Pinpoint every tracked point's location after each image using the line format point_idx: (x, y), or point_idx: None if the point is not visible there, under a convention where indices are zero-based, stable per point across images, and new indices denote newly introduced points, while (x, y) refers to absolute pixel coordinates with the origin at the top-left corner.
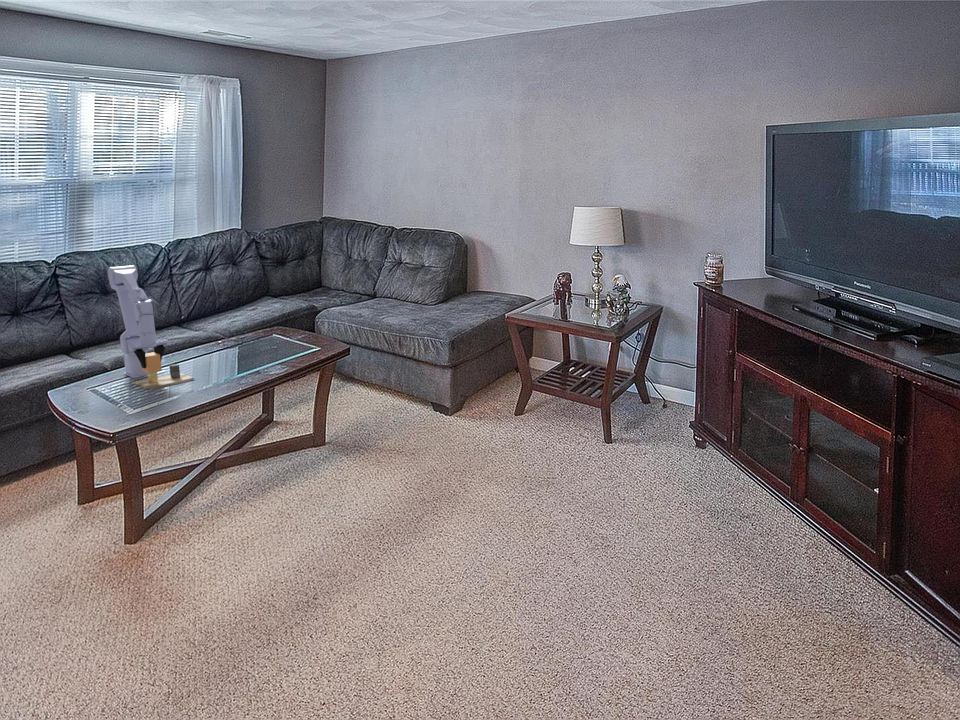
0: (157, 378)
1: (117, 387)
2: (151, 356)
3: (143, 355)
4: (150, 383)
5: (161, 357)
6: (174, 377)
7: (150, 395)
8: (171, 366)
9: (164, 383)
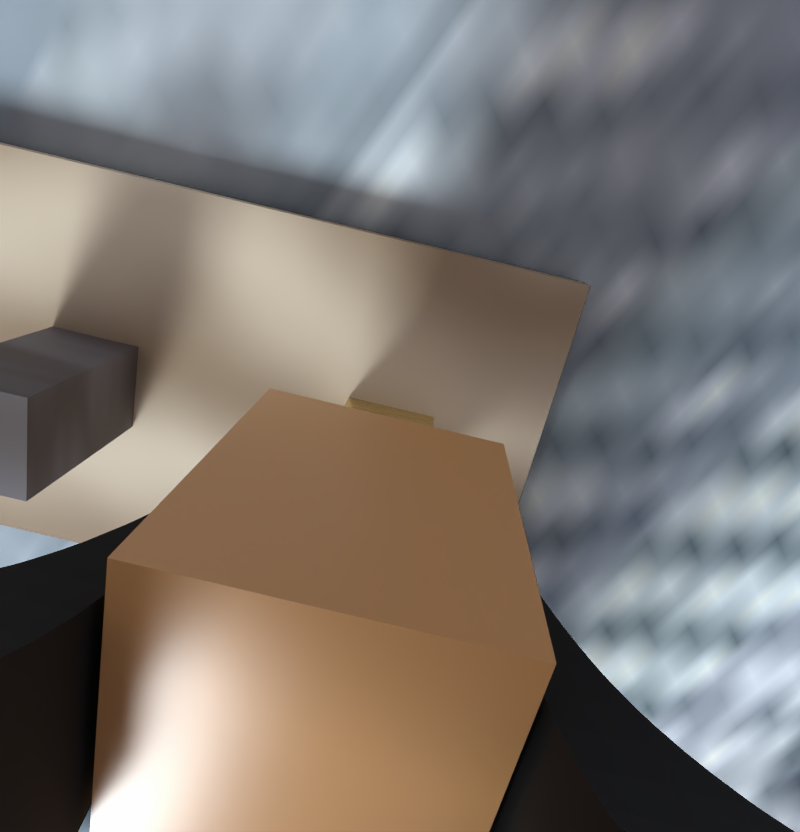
0: None
1: (634, 679)
2: (395, 610)
3: (632, 760)
4: None
5: (98, 540)
6: (123, 349)
7: (753, 66)
8: (33, 433)
9: (343, 275)
